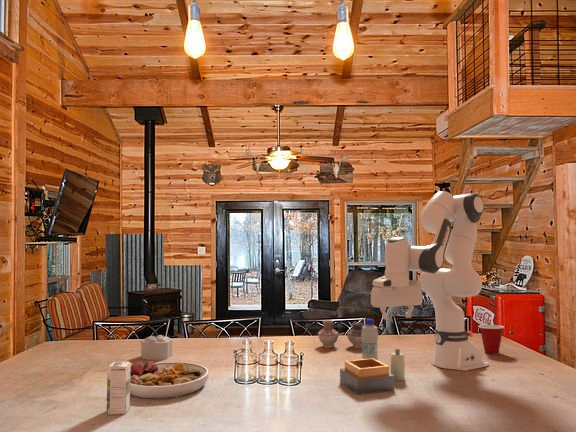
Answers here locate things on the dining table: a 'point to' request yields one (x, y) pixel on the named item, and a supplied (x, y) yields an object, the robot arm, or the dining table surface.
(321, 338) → the pottery
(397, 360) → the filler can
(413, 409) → the dining table surface
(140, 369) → the bowl
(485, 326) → the plastic cup
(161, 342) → the white lumpy-lid tub
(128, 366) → the syrup box
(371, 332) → the bottle
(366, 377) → the tan and grey box
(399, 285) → the robot arm
